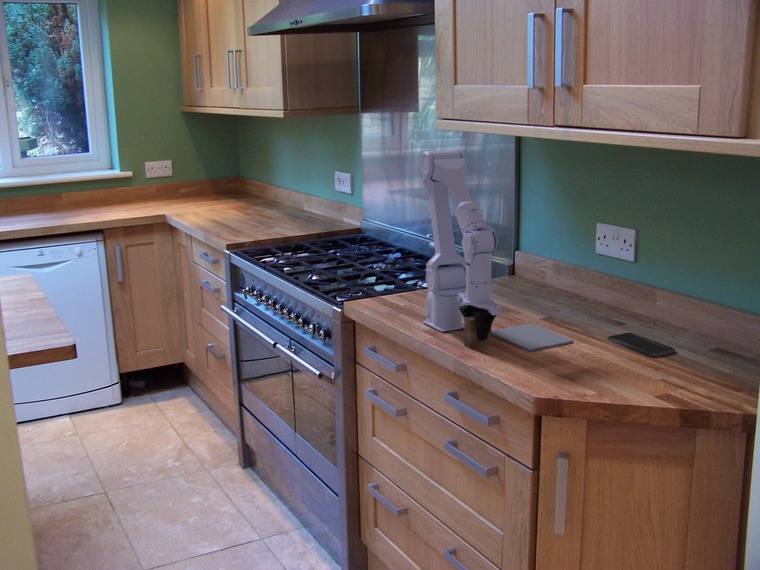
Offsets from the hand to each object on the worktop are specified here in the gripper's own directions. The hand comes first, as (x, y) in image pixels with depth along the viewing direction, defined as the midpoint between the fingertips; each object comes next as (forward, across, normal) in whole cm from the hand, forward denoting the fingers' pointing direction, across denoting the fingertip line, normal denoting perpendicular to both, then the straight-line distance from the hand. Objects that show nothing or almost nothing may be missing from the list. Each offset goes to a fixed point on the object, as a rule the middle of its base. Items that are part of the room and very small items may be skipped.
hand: (477, 337), depth 193 cm
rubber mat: (+2, +2, +14) cm, 14 cm away
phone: (+2, +20, +32) cm, 38 cm away
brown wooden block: (+2, 0, 0) cm, 2 cm away
